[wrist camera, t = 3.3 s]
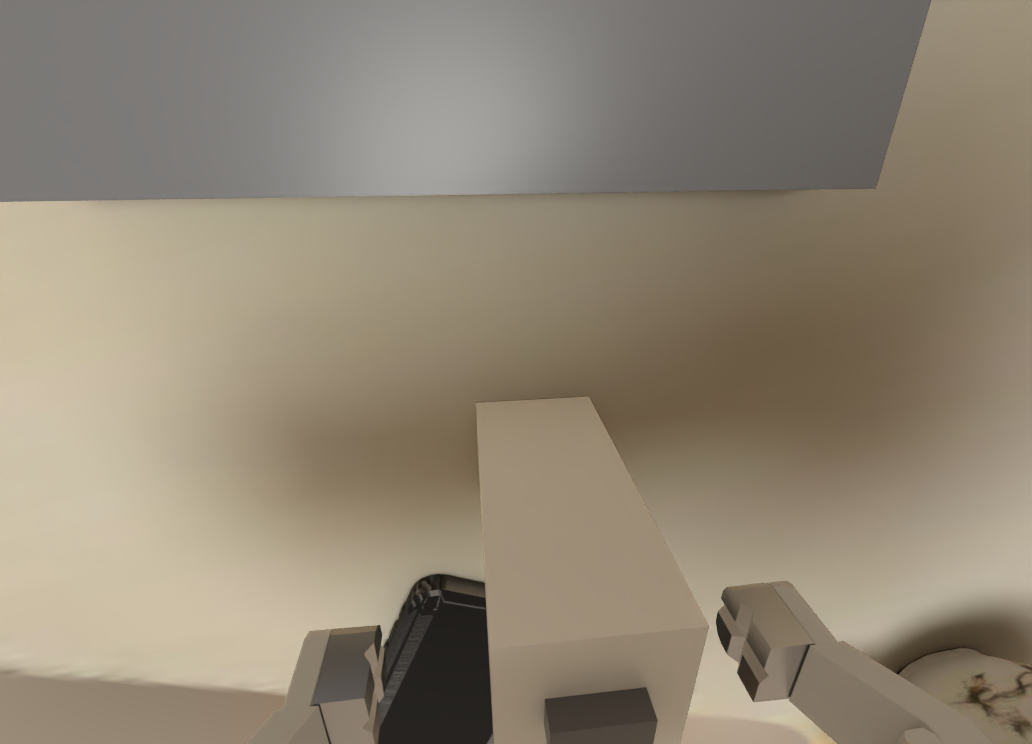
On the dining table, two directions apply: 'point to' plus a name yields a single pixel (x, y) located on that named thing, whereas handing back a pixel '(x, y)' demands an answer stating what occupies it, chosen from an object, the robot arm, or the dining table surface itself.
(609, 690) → the charger plug
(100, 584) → the dining table surface
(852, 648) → the robot arm
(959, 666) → the teacup
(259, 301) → the dining table surface
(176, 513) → the dining table surface
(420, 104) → the grey socket board
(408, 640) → the phone
